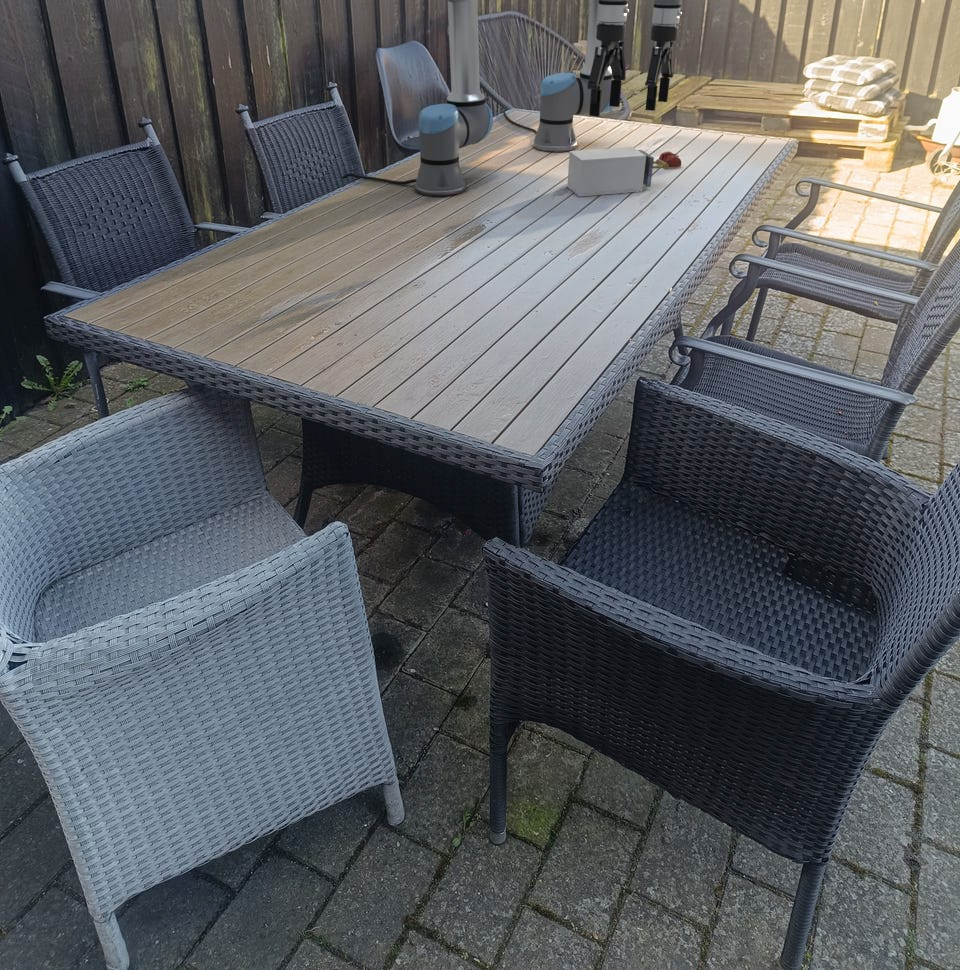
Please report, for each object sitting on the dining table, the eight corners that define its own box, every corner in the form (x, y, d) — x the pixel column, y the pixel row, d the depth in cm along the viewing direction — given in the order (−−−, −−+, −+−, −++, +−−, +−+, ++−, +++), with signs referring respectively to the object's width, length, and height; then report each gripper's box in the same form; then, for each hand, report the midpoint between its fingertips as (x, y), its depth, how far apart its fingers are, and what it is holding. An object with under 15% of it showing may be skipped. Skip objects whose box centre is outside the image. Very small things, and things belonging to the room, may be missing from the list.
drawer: (656, 177, 266) (659, 148, 261) (669, 185, 259) (672, 156, 254) (580, 183, 261) (582, 153, 256) (591, 192, 254) (593, 161, 248)
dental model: (673, 148, 282) (683, 154, 275) (672, 161, 284) (682, 167, 278) (657, 149, 281) (667, 156, 274) (656, 162, 283) (666, 169, 277)
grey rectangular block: (628, 181, 265) (632, 146, 259) (642, 191, 257) (646, 155, 251) (567, 186, 261) (569, 151, 255) (579, 196, 253) (581, 160, 247)
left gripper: (606, 29, 207) (599, 121, 219) (643, 18, 224) (634, 103, 237) (578, 27, 210) (572, 118, 222) (616, 16, 227) (609, 101, 240)
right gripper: (666, 30, 227) (657, 115, 239) (689, 20, 245) (679, 99, 257) (639, 29, 229) (632, 112, 242) (663, 19, 248) (655, 97, 260)
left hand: (604, 111), depth 229 cm, fingers open, 13 cm apart
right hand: (656, 105), depth 250 cm, fingers open, 13 cm apart
